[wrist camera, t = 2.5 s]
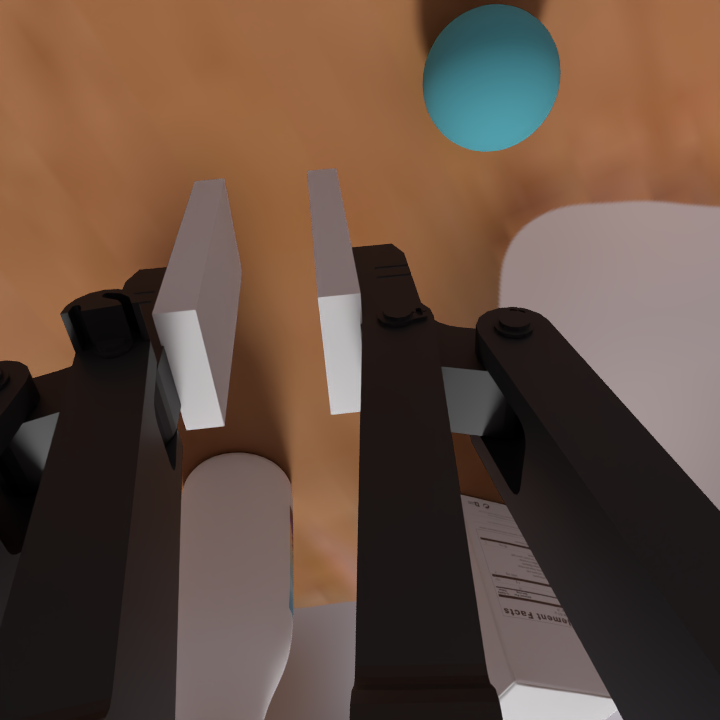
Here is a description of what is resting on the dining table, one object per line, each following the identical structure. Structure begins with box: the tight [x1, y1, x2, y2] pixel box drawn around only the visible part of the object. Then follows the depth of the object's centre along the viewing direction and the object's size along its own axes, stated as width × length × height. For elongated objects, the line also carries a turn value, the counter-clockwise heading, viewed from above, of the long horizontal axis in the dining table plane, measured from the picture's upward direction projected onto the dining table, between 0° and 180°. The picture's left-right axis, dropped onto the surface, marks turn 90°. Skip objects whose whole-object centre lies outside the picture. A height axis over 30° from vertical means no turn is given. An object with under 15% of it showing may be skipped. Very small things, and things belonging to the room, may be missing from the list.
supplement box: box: [461, 495, 618, 720], centre depth 46 cm, size 9×9×15 cm
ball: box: [423, 4, 560, 152], centre depth 28 cm, size 6×6×6 cm
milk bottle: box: [175, 453, 293, 720], centre depth 38 cm, size 8×8×20 cm
